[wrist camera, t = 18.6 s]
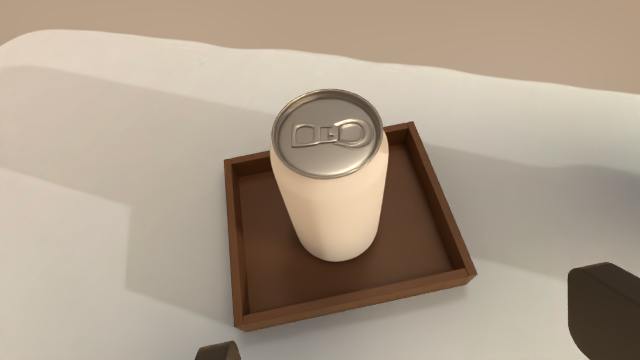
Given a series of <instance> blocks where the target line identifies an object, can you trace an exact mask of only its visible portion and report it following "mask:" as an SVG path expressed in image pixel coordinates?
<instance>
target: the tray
mask: <svg viewBox="0 0 640 360" xmlns="http://www.w3.org/2000/svg"><path fill="white" fill-rule="evenodd" d="M383 130H384V132H385V134H386V137H387V141H388V149H389V155H388V165H387V172H386V179H385V186H384V193H383V199H382V206H381V212H380V218H379V224H378V229H377V233H376V236H375V238H374V240H373V242H372V243H371V245H370V246H369V247H368V248H367V249H366V250H365V251H364V252H363V253H362V254H360V255H359V256H357V257H355V258H353V259H350V260H346V261H340V262H332V261H326V260H323V259H320V258H318V257H316V256H314V255H312V254H311V253H310V252H308V251H307V250H306V249H305V247H304V246H303V245H302V243H301V242H300V240H299V238H298V236H297V233H296V231H295V229H294V226H293V223H292V221H291V218H290V216H289V213H288V210H287V208H286V205H285V202H284V200H283V197H282V194H281V192H280V189H279V186H278V184H277V181H276V178H275V175H274V172H273V169H272V165H271V160H270V151H265V152H260V153H255V154H250V155H245V156H241V157H236V158H231V159H226V160H224V170H225V186H226V202H227V218H228V234H229V251H230V267H231V283H232V299H233V316H234V327H236V328H238V329H240V330H242V331H244V332H249V331H254V330H258V329H263V328H268V327H272V326H277V325H282V324H286V323H291V322H295V321H300V320H305V319H309V318H314V317H318V316H323V315H328V314H332V313H337V312H342V311H346V310H351V309H355V308H360V307H365V306H369V305H374V304H379V303H383V302H388V301H392V300H397V299H402V298H406V297H411V296H416V295H420V294H425V293H429V292H434V291H439V290H443V289H448V288H452V287H457V286H462V285H466V284H467V283H468V282H469V281H470V280H472V279H473V278H474V277H475V276H476V275H477V272H476V269H475V267H474V265H473V262H472V260H471V258H470V255H469V253H468V250H467V248H466V246H465V243H464V241H463V239H462V236H461V234H460V231H459V229H458V227H457V224H456V222H455V219H454V217H453V215H452V212H451V210H450V208H449V205H448V203H447V200H446V198H445V196H444V193H443V191H442V189H441V186H440V184H439V181H438V179H437V177H436V174H435V172H434V170H433V167H432V165H431V162H430V160H429V158H428V155H427V153H426V150H425V148H424V146H423V143H422V141H421V139H420V136H419V134H418V131H417V129H416V127H415V124H414V122H413V121H412V122H407V123H402V124H397V125H392V126H388V127H383Z"/></svg>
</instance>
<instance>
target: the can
mask: <svg viewBox="0 0 640 360" xmlns="http://www.w3.org/2000/svg"><path fill="white" fill-rule="evenodd" d="M271 139H272V143H271V148H270V160H271V165H272V169H273V172H274V175H275V178H276V181H277V184H278V186H279V189H280V192H281V194H282V197H283V200H284V202H285V205H286V208H287V210H288V213H289V216H290V218H291V221H292V223H293V226H294V229H295V231H296V233H297V236H298V238H299V240H300V242H301V243H302V245H303V246H304V247H305V249H306V250H307V251H308V252H310V253H311V254H312V255H314V256H316V257H318V258H320V259H323V260H326V261H332V262H340V261H346V260H350V259H353V258H355V257H357V256H359V255H360V254H362V253H363V252H364V251H365V250H366V249H367V248H368V247H369V246H370V245H371V243H372V242H373V240H374V238H375V236H376V233H377V229H378V224H379V218H380V212H381V206H382V199H383V193H384V186H385V179H386V172H387V165H388V155H389V149H388V141H387V137H386V134H385V132H384V130H383V124H382V121H381V118H380V116H379V114H378V112H377V111H376V109H375V108H374V107H373V106H372V105H371V104H370V103H369V102H368V101H367V100H365V99H364V98H362V97H361V96H359V95H357V94H354V93H352V92H348V91H344V90H338V89H322V90H316V91H312V92H308V93H306V94H303V95H301V96H299V97H297V98H295V99H294V100H292V101H291V102H290V103H288V104H287V105H286V106H285V107H284V108H283V109H282V110H281V111H280V113H279V114H278V116H277V117H276V119H275V122H274V124H273V128H272V134H271Z"/></svg>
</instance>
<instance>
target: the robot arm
mask: <svg viewBox="0 0 640 360" xmlns="http://www.w3.org/2000/svg"><path fill="white" fill-rule="evenodd" d="M568 327H569V331H570V334H571V336H572V338H573V340H574V342H575V344H576V345H577V347H578V348H579V349H580V350H581V352H582V353H583V354H584V355H585V356H586V357H588V358H589V359H590V360H640V278H638V277H636V276H634V275H633V274H631V273H629V272H627V271H625V270H623V269H622V268H620V267H618V266H616V265H614V264H612V263H609V262H603V263H598V264H594V265H589V266H584V267H580V268H575V269H572V270H571V271H570V272H569V274H568ZM195 360H241V357H240V354H239V351H238V348H237V345H236V343H235V342H234V341H229V342H224V343H220V344H215V345H210V346H206V347H201V348H200V349H199V350H198V353H197V355H196V358H195Z"/></svg>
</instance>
